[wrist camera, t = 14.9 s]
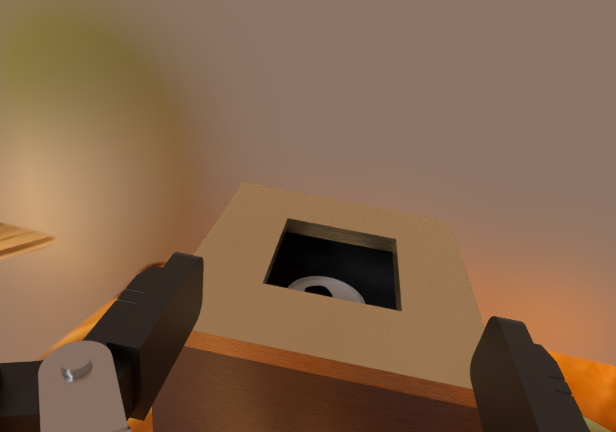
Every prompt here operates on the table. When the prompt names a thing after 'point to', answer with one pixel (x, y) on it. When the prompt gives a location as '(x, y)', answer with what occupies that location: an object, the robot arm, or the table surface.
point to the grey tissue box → (326, 323)
